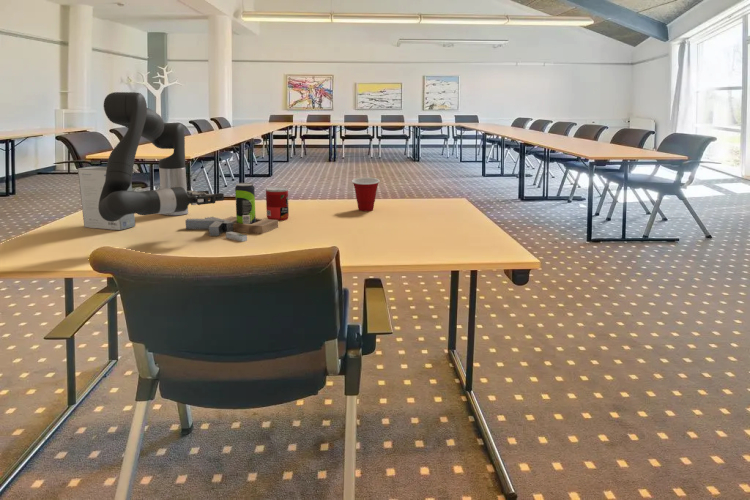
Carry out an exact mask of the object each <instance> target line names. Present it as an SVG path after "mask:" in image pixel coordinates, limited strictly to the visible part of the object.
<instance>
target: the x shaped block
mask: <svg viewBox="0 0 750 500" xmlns="http://www.w3.org/2000/svg"><path fill="white" fill-rule="evenodd" d="M224 219H225V218H219V217H214V216H210V217H209V216H207V217H204V218H186V219H185V230H208V232H209V233H208V234H209V235H208V236H209V237H219V236H220V235H221V234H222V233H226V232H234V231H233V224H234V222H232V221H228V220H224Z"/></svg>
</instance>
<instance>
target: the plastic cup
mask: <svg viewBox="0 0 750 500" xmlns="http://www.w3.org/2000/svg"><path fill="white" fill-rule="evenodd" d="M351 182H352V185H353V187H354V192H355V200H356V203H357V209H358V210H359V211H361V212H371V211H373V210H374V207H375V202H376V196H377V189H378V186H379V183H380V182H381V181H380V179H378V178H375V177H357V178H353V179H352V180H351Z"/></svg>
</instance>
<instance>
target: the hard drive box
mask: <svg viewBox="0 0 750 500" xmlns="http://www.w3.org/2000/svg"><path fill="white" fill-rule="evenodd" d="M106 170H107V166H87V167H80V168H79V167H78V168H77V174H78V183H79V185H78V186H79V193H80V201H81V210H82V218H83V219H82V221H83V227H84V228H91V229H101V230H102V229H103V230H111V231H122V230H126V229H129V228H133V227H136V219H135V214H128V215H125V216H123V217H122V218H120V219H119V220H117V221H112V222H111V221H107V220H105V219H103V218H102V217H101V215H100V213H99V209H98V205H99V199H100V196H101V192H102V189H103V186H104V183H105V179H106ZM127 191H133V185H132V183H131V185H130V187H129V188H128V190H127Z"/></svg>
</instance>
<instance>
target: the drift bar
mask: <svg viewBox="0 0 750 500" xmlns="http://www.w3.org/2000/svg"><path fill="white" fill-rule="evenodd" d="M225 238H226V239H229V240H233V241H238V242H242V243H243V242H247V241H248V235H247V234H243V233H240V232H235V231H232V232H225Z"/></svg>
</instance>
